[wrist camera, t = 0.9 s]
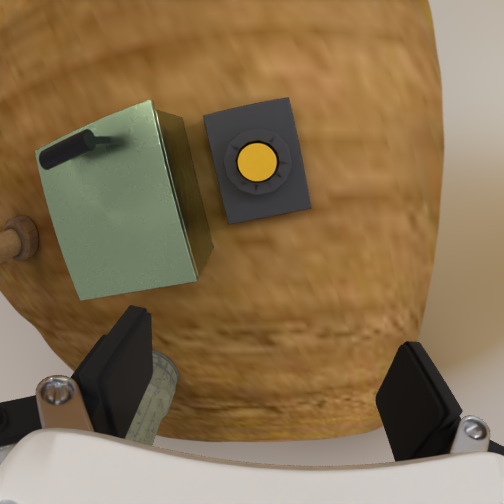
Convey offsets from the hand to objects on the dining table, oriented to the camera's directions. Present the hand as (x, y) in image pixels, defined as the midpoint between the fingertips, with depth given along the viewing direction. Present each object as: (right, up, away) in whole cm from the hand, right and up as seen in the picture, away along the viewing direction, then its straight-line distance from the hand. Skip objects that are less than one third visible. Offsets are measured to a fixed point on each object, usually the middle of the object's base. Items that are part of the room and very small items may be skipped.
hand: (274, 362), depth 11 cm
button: (0, +13, +19) cm, 23 cm away
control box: (0, +14, +23) cm, 27 cm away
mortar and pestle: (-35, +6, +27) cm, 45 cm away
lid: (-14, +8, +16) cm, 23 cm away
